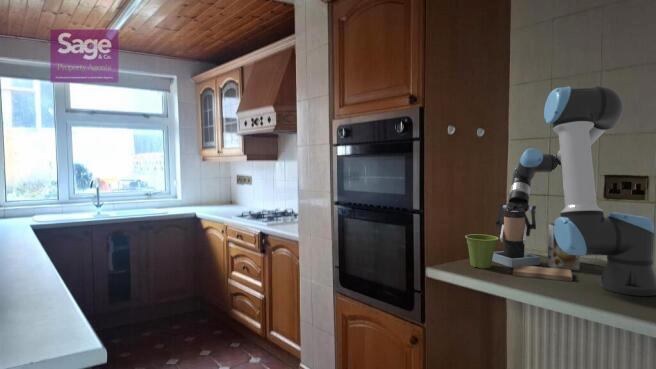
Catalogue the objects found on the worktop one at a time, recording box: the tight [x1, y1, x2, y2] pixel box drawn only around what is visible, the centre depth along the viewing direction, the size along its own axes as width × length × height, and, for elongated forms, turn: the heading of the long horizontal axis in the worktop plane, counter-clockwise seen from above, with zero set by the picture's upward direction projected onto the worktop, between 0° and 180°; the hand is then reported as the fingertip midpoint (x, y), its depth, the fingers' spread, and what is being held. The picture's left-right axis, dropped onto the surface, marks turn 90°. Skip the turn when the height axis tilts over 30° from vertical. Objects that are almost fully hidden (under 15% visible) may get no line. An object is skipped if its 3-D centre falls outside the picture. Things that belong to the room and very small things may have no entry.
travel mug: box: [503, 209, 526, 259], centre depth 168 cm, size 8×8×20 cm
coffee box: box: [546, 222, 581, 271], centre depth 159 cm, size 9×6×16 cm
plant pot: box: [464, 233, 499, 269], centre depth 162 cm, size 12×12×11 cm
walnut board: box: [512, 265, 573, 282], centre depth 150 cm, size 18×10×2 cm, turn 63°
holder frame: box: [492, 250, 541, 269], centre depth 168 cm, size 13×13×3 cm
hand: (512, 241), depth 165 cm, fingers closed on travel mug, 7 cm apart
